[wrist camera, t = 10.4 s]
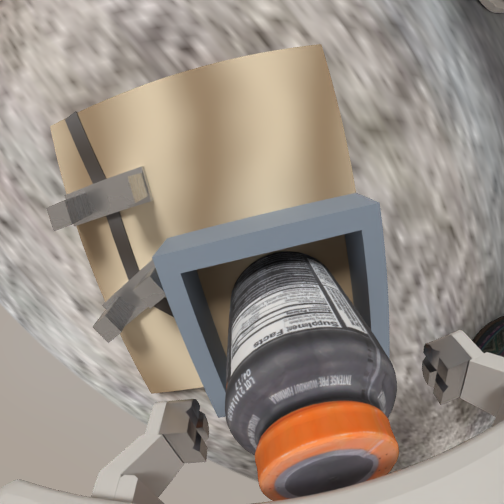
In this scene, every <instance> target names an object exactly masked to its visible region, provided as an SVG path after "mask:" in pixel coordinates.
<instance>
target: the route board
mask: <svg viewBox="0 0 504 504" xmlns="http://www.w3.org/2000/svg"><path fill="white" fill-rule="evenodd" d="M50 128H51V133H52V138H53V142H54V147H55V151H56V155H57V160H58V164H59V168H60V172H61V175H62V179H63V183H64V186H65V190H66V194H69V193H72V192H74V191H77V190H79V189H82V188H84V187H87V186H89V185H92V184H94V183H97V182H100V181H102V180H105V179H108V178H110V177H113V176H116V175H119V174H121V173H124V172H127V171H130V170H133V169H136V168H139V167H142V166H144V168H145V172H146V176H147V179H148V183H149V186H150V190H151V193H152V197H153V201H150V202H147V203H144V204H141V205H137V206H134V207H131V208H128V209H125V210H122V211H119V212H115V213H112V214H109V215H106V216H103V217H100V218H97V219H95V220H92V221H89V222H86V223H83V224H80V225H77V229H78V232H79V235H80V238H81V241H82V244H83V246H84V249H85V252H86V255H87V257H88V260H89V263H90V265H91V268H92V270H93V273H94V276H95V278H96V281H97V283H98V285H99V288H100V290H101V293H102V295H103V297H104V300H105V302H106V301H107V300H108V299H109V298H110V297H111V296H112V295H113V294H114V293H115V292H116V291H117V290H118V289H120V288H121V287H122V286H123V285H124V284H125V283H126V282H127V281H128V280H130V279H131V278H132V277H133V276H134V275H135V274H136V273H137V272H139V270H140V269H142V268H143V267H144V266H145V265H146V264H147V263H148V262H149V261H151V260H152V257H153V255H154V254H155V253H156V252H157V250H158V249H159V248H160V246H161V245H162V244H163V243H164V241H165V240H166V239H167V238H170V237H173V236H177V235H181V234H185V233H189V232H193V231H196V230H200V229H204V228H208V227H212V226H216V225H220V224H224V223H228V222H232V221H236V220H240V219H244V218H248V217H252V216H256V215H261V214H265V213H269V212H273V211H277V210H282V209H286V208H290V207H295V206H299V205H303V204H308V203H312V202H317V201H321V200H325V199H330V198H334V197H339V196H344V195H348V194H353V193H356V189H355V184H354V178H353V173H352V167H351V162H350V157H349V152H348V147H347V142H346V138H345V133H344V128H343V124H342V120H341V115H340V111H339V107H338V103H337V99H336V95H335V91H334V87H333V84H332V80H331V76H330V73H329V69H328V66H327V62H326V59H325V55H324V52H323V49H322V45H321V44H319V45H310V46H302V47H295V48H288V49H281V50H275V51H270V52H264V53H259V54H253V55H249V56H244V57H239V58H235V59H230V60H226V61H222V62H218V63H214V64H210V65H206V66H202V67H199V68H195V69H192V70H188V71H185V72H181V73H178V74H175V75H172V76H169V77H166V78H163V79H160V80H157V81H154V82H151V83H148V84H145V85H142V86H140V87H137V88H134V89H132V90H129V91H127V92H124V93H121V94H119V95H116V96H114V97H112V98H109V99H107V100H104V101H102V102H100V103H98V104H95V105H93V106H91V107H89V108H86V109H84V110H82V111H80V112H78V113H77V112H74V113H73V114H72V115H70V116H69V117H68V118H66V119H64V120H62V121H60V122H58V123H56V124H54V125H52V126H50ZM284 251H292V252H300V253H303V254H307V255H309V256H311V257H314V258H316V259H317V260H318V261H320V262H321V263H322V264H324V265H325V267H327V268H328V270H329V271H330V272H331V274H332V275H333V276H334V278H335V279H336V281H337V282H338V284H339V285H340V286H341V288H342V289H343V291H344V292H345V294H346V295H347V296H348V298H349V299H350V301H351V302H352V303H353V295H352V286H351V278H350V270H349V262H348V255H347V248H346V241H345V234H343V235H339V236H335V237H331V238H326V239H322V240H318V241H314V242H310V243H306V244H302V245H297V246H293V247H289V248H285V249H281V250H277V251H272V252H268V253H264V254H260V255H256V256H251V257H247V258H243V259H239V260H235V261H231V262H226V263H222V264H218V265H214V266H210V267H205V268H201V269H197V273H198V276H199V279H200V282H201V285H202V288H203V291H204V294H205V297H206V300H207V303H208V306H209V309H210V312H211V315H212V318H213V321H214V324H215V327H216V329H217V332H218V335H219V338H220V341H221V344H222V346H223V349H224V352H225V355H226V357H227V345H228V326H229V325H228V324H229V311H230V299H231V293H232V290H233V287H234V285H235V283H236V281H237V279H238V278H239V276H240V275H241V273H242V272H243V271H244V270H245V269H246V268H247V267H248V266H249V265H250V264H252V263H253V262H254V261H256V260H257V259H259V258H261V257H264V256H266V255H269V254H272V253H276V252H284ZM353 305H354V304H353ZM120 335H121V337H122V339H123V341H124V343H125V345H126V347H127V349H128V351H129V353H130V355H131V357H132V359H133V361H134V363H135V365H136V367H137V369H138V370H139V372H140V374H141V376H142V378H143V380H144V381H145V383H146V385H147V387H148V389H149V390H150V392H151V394H152V393H161V392H170V391H178V390H186V389H193V388H200V387H204V386H203V384H202V382H201V380H200V378H199V375H198V373H197V371H196V369H195V366H194V364H193V362H192V359H191V357H190V355H189V352H188V350H187V348H186V345H185V343H184V341H183V338H182V336H181V333H180V331H179V328H178V326H177V323H176V321H175V318H174V316H173V313H172V311H171V308H170V306H169V303H168V300H167V298H166V296H165V297H164V298H163V299H162V300H160V301H159V302H158V303H157V304H155V305H154V306H153V307H152V308H151V309H150V308H149V307H148V308H146V309H145V310H144V311H143V312H142V313H140V314H139V315H138V316H137V317H135V318H134V319H133V320H132V321H131V322H129V323H128V324H127V325H126V326H125V327H124V329H123V330H122V332H121V333H120Z"/></svg>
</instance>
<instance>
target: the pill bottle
mask: <svg viewBox="0 0 504 504" xmlns="http://www.w3.org/2000/svg"><path fill="white" fill-rule="evenodd" d="M228 325H229V326H228V345H227V367H226V395H225V415H226V421H227V424H228V427H229V429H230V431H231V433H232V435H233V436H234V438H235V439H236V440H237V442H238V443H239V444H240V445H241V446H242V447H243V448H244V449H245V450H247V451H248V452H250V453H251V454H253V455H255V462H256V466H257V471H258V481H259V486H260V488H261V491H262V492H263V494H264V495H265V496H267V497H268V498H269V499H271V500H273V501H278V500H285V499H291V498H297V497H303V496H308V495H313V494H318V493H322V492H327V491H331V490H335V489H339V488H343V487H347V486H351V485H355V484H358V483H362V482H365V481H368V480H372V479H375V478H378V477H381V476H384V475H387V474H388V473H389V472H390V471H391V469H392V468H393V466H394V465H395V463H396V461H397V459H398V455H399V448H398V443H397V441H396V439H395V437H394V435H393V432H392V430H391V427H390V423H389V420H388V417H389V415H390V413H391V411H392V408H393V406H394V402H395V398H396V392H397V381H396V375H395V371H394V368H393V365H392V363H391V361H390V359H389V358H388V356H387V355H386V353H385V351H384V350H383V348H382V347H381V345H380V343H379V342H378V340H377V338H376V337H375V335H374V334H373V333H372V331H371V329H370V328H369V327H368V325H367V324H366V322H365V321H364V319H363V318H362V316H361V314H360V313H359V312H358V311H357V309H356V308H355V306H354V305H353V303H352V302H351V301H350V299H349V298H348V296H347V295H346V294H345V292H344V291H343V289H342V288H341V286H340V285H339V284H338V282H337V281H336V279H335V278H334V276H333V275H332V274H331V272H330V271H329V270H328V268H327V267H325V265H324V264H322V263H321V262H320V261H318V260H317V259H316V258H314V257H311V256H309V255H307V254H303V253H300V252H292V251H284V252H276V253H272V254H269V255H266V256H264V257H261V258H259V259H257V260H256V261H254V262H253V263H252V264H250V265H249V266H248V267H247V268H246V269H245V270H244V271H243V272H242V273H241V275H240V276H239V278H238V279H237V281H236V283H235V285H234V287H233V290H232V293H231V299H230V311H229V324H228Z"/></svg>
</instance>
